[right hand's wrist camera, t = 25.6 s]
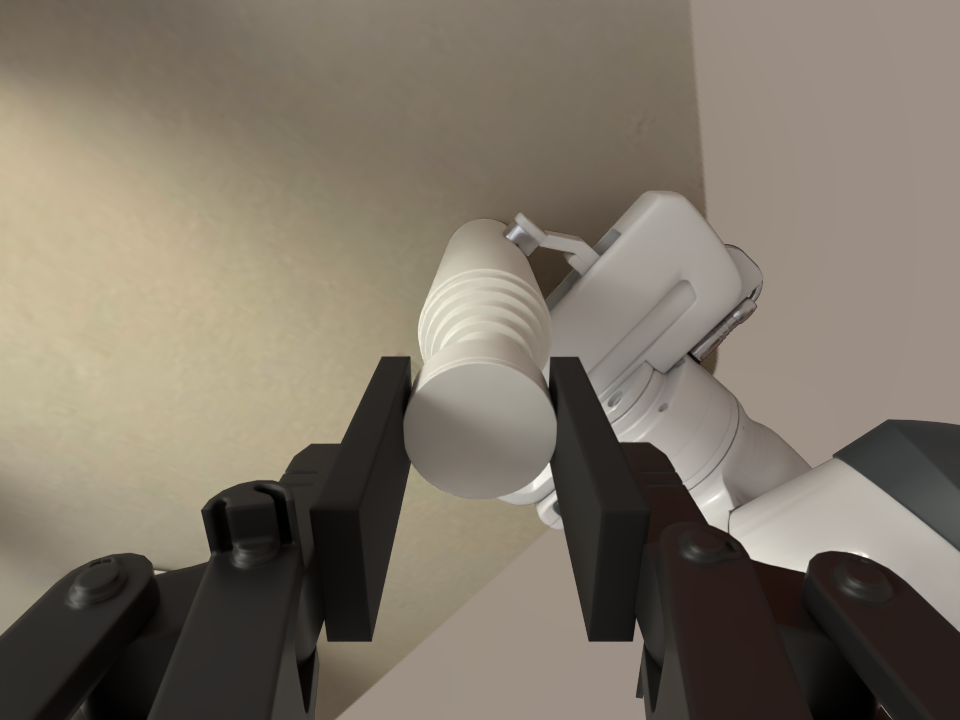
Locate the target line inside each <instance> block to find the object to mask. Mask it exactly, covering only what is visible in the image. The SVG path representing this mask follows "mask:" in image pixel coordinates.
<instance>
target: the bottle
mask: <svg viewBox="0 0 960 720" xmlns="http://www.w3.org/2000/svg"><path fill="white" fill-rule="evenodd" d="M506 228H507V225H505V224H503V223H501V222H499V221H496V220H493V219H476V220H472V221H470V222H467V223H466V224H464V225H462V226H461V227H460V228H459V229H458V230H457V231H456V232H455V233H454V234H453V235H452V237H451V239H450V240H449V243H448V245H447V248H446V251H445V253H444V256H443V258H442V261H441V263H440V266H439V269H438V271H437V274H436V276H435V279H434V281H433V284H432V286H431V289H430V292H429V294H428V297H427V299H426V302H425V304H424V307H423V310H422V312H421V315H420V319H419V326H418V340H419V345H420V351H421V355H422V358H423V361H424V363H426V362H427V361H428V360H429V359H430V358H431V357H432V356H433V355H434V354H436V353H437V352H439V351H440V350H442V349H443V348H445V347H448V346H450V345H452V344H455V343H458V342H461V341H466V340H473V339H488V340H494V341H499V342H503V343H506V344H509V345H511V346H513V347H515V348H517V349H519V350H520V351H522V352H523V353H525V354H526V355H527V356H528V357H530V358H531V359H532V360H533V361H534V363H535V364H536V365H537V366H538V367H539V369H540V370H541V372H542V370H543V369H544V367H545V365H546V363H547V360H548V357H549V354H550V349H551V343H552V332H553V330H552V321H551V317H550V313H549V311H548V308H547V305H546V303H545V301H544V298H543V296H542V293H541V291H540V289H539V286H538V284H537V281H536V279H535V277H534V274H533V272H532V269H531V267H530V265H529V262H528V260H527V257H526V255H525V254H524V253H523V252H522V251H521V250H520V249H519V247H518V245H517V244H514V243H512V242H511V241H509V240H508V239H507V238H506V237H505V236H504V235H503V231H504V230H505V229H506Z"/></svg>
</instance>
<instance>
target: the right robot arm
mask: <svg viewBox="0 0 960 720" xmlns="http://www.w3.org/2000/svg"><path fill="white" fill-rule="evenodd" d="M411 390H412V382H411V362H410V357H381V360H380V362H379V364H378V366H377V368H376V370H375V372H374V374H373V376H372V379H371V381H370V383H369V385H368V387H367V389H366V391H365V393H364V395H363V398H362V400H361V402H360V404H359V406H358V408H357V410H356V412H355V414H354V417H353V419H352V421H351V423H350V425H349V427H348V429H347V431H346V433H345V436H344V438H343V440H342V442H341V444H310V445H309V446H308V447H306V448H305V449H304V450H302V451H301V452H300V453H298V454H297V455H295V456H294V458H293V459H292V461H291V463H290V464H289V466H288V468H287V469H286V471H285V474H283V476H282V478H281V479H280V481H279V482H277V481H273V480H256V481H251V482H246V483H241V484H238V485H235V486H233V487H231V488H228V489H226V490H223V491H222V492H220V493H219V494H217V495H216V496H214V497H213V498H211V499H210V500H209V501H208V502H207V504H206V505H205V506H204V507H203V509H202V510H201V512H202V517H203V521H204V525H205V530H206V534H207V538H208V543H209V547H210V551H211V557H210V560H209V561H208V562H206V563H202V564H199V565H195V566H192V567H188V568H183V569H179V570H174V571H170V572H165V573H161V574H156V575H155V573H154V569H153V565H152V563H151V562H150V561H149V560H148V559H147V558H146V557H145V556H143V555H138V554H134V553H123V554H112V555H109V556H106V557H102V558H99V559H96V560H93V561H90V562H88V563H86V564H84V565H82V566H80V567H78V568H76V569H74V570H72V571H71V572H70V573H68V574H67V575H66V576H65V577H63V578H62V579H61V580H59V581H58V582H57V583H55V584H54V585H53V586H52V587H51V588H50V589H49V590H48V591H47V592H46V593H45V594H44V595H43V596H42V597H41V598H40V599H39V600H38V601H37V602H36V603H34V604H33V605H32V606H31V607H30V608H29V609H28V610H27V611H26V612H25V613H24V614H23V615H22V616H21V617H20V618H19V619H18V620H17V621H16V622H15V623H14V624H12V625H11V626H10V627H9V628H8V629H7V630H6V631H5V632H4V633H3V634H2V635H1V636H0V720H314V714H315V704H316V694H317V684H318V673H319V659H318V652H317V645H316V643H317V640H318V637H319V634H320V631H321V628H322V625H323V622H324V620H325V627H326V634H327V641H328V642H372V637H373V633H374V628H375V624H376V619H377V615H378V610H379V606H380V601H381V596H382V592H383V587H384V583H385V578H386V574H387V569H388V565H389V560H390V556H391V551H392V546H393V542H394V537H395V533H396V528H397V524H398V519H399V515H400V510H401V506H402V501H403V497H404V492H405V487H406V483H407V478H408V474H409V469H410V465H411V461H410V459H409V457H408V455H407V452H406V449H405V444H404V428H403V419H404V414H405V411H406V407H407V404H408V400H409V397H410V393H411ZM549 392H550V395H551V399H552V402H553V406H554V409H555V413H556V417H557V434H556V447H555V451H554V453H553V456H552V458H551V460H550V461H549V463H550V468H551V472H552V477H553V481H554V486H555V490H556V495H557V499H558V504H559V509H560V513H561V518H562V522H563V527H564V531H565V536H566V540H567V545H568V549H569V554H570V559H571V563H572V568H573V572H574V577H575V581H576V586H577V590H578V595H579V599H580V604H581V608H582V613H583V618H584V622H585V627H586V631H587V635H588V640H589V642H594V641H596V642H632V641H633V637H634V629H635V622H636V618H637V621H638V624H639V627H640V630H641V633H642V636H643V639H644V645H643V652H642V659H641V665H640V672H639V678H638V685H637V692H636V698H643V694H644V703H645V713H646V720H892V719H893V720H960V632H959V631H958V630H957V629H956V628H955V627H954V626H953V625H952V624H951V623H950V622H948V621H947V620H946V619H945V618H944V617H943V616H942V615H941V614H940V613H939V612H938V611H937V610H936V609H935V608H934V607H933V606H932V605H931V604H930V603H928V602H927V601H926V600H925V599H924V598H923V597H922V596H921V595H920V594H919V593H918V592H917V591H916V590H915V589H914V588H913V587H912V586H911V585H909V584H908V583H907V582H906V581H905V580H904V579H902V578H901V577H900V576H899V575H897V574H896V573H895V572H893V571H892V570H891V569H889V568H887V567H885V566H883V565H881V564H879V563H877V562H875V561H873V560H871V559H869V558H866V557H863V556H860V555H857V554H853V553H850V552H841V551H826V552H822V553H817V554H816V555H815V556H814V557H813V558H812V559H811V560H809V564H808V567H807V571H806V573H805V572H801V571H796V570H792V569H787V568H783V567H778V566H774V565H769V564H766V563H762V562H759V561H756V560H753V559H751V558H750V556H749V554H748V553H747V551H746V550H745V548H744V547H743V545H742V544H741V543H740V542H739V541H738V540H737V539H735V538H734V537H733V536H732V535H730V534H729V533H727V532H725V531H723V530H721V529H719V528H716V527H714V526H712V525H709V524H708V522H707V521H706V519H705V517H704V516H703V514H702V512H701V511H700V509H699V507H698V506H697V504H696V503H695V501H694V499H693V498H692V496H691V494H690V493H689V491H688V489H687V488H686V486H685V485H683V481H682V480H681V478H680V476H679V475H678V473H677V472H675V468H674V466H673V465H672V463H671V462H670V460H669V458H668V457H667V455H666V454H665V453H663V452H662V451H661V450H659V449H658V448H657V447H655V446H654V445H652V444H651V443H650V442H619V441H618V439H617V437H616V435H615V433H614V431H613V428H612V426H611V424H610V422H609V420H608V418H607V416H606V414H605V412H604V409H603V407H602V405H601V403H600V401H599V399H598V397H597V395H596V393H595V390H594V388H593V386H592V384H591V382H590V380H589V378H588V376H587V374H586V371H585V369H584V367H583V365H582V363H581V361H580V359H579V357H550V370H549ZM881 705H882V706H883V707H884V709H885V710H886V711H887V713H888V714H889V715H890V716H891V718H892V719H891V718H890V717H889V716H888V714H887V713H886V712H885V710H884V709H883V708H882V707H881ZM79 708H80V709H79ZM78 709H79V710H78ZM77 710H78V711H77ZM76 712H77V713H76ZM75 713H76V714H75ZM74 714H75V715H74ZM73 716H74V717H73ZM72 717H73V718H72ZM71 718H72V719H71Z"/></svg>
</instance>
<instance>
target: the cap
mask: <svg viewBox="0 0 960 720" xmlns="http://www.w3.org/2000/svg"><path fill="white" fill-rule="evenodd" d="M403 428H404V444H405V449H406V452H407V455H408V457H409V459H410V461H411V462H412V464H413V466H414V467H415V469H416V470H417V471H418V472H419V473H420V474H421V476H423V477H424V478H425V479H426V480H427V481H428V482H429V483H431V484H432V485H434V486H435V487H437V488H439V489H441V490H442V491H444V492H447V493H449V494H452V495H455V496H459V497H463V498H469V499H491V498H497V497H502V496H505V495H509V494H511V493H513V492H516V491H518V490H520V489H522V488H523V487H525V486H527V485H528V484H530V483H531V482H532V481H534V480H535V479H536V478H537V477H538V476H539V475H540V474H541V473H542V471H543V470H544V469H545V468H546V466H547V465H548V463H549V461H550V460H551V458H552V456H553V453H554V451H555V447H556V434H557V417H556V413H555V409H554V406H553V402H552V399H551V395H550V392H549V388H548V385H547V382H546V380H545V378H544V376H543V374H542V372H541V370H540V369H539V367H538V366H537V365H536V364H535V363H534V361H533V360H532V359H531V358H530V357H528V356H527V355H526V354H525V353H523V352H522V351H520V350H519V349H517V348H515V347H513V346H511V345H509V344H506V343H503V342H499V341H494V340H488V339H473V340H466V341H461V342H458V343H455V344H452V345H450V346H448V347H445V348H443V349H442V350H440V351H439V352H437V353H436V354H434V355H433V356H432V357H431V358H430V359H429V360H428V361H427V362H426V363H425V364H424V365H423V366H422V368H421V369H420V371H419V372H418V374H417V376H416V378H415V380H414V383H413V387H412V390H411V393H410V397H409V400H408V404H407V407H406V411H405V414H404V419H403Z"/></svg>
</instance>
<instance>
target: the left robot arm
mask: <svg viewBox="0 0 960 720" xmlns="http://www.w3.org/2000/svg"><path fill="white" fill-rule="evenodd" d="M503 235H504V236H505V237H506V238H507V239H508V240H509V241H511V242H512V243H514V244H517V245H518V247H519V249H520V250H521V251H522V252H523V253H524V254H525V255H527V256H528V257H529V256H530V254H531V253H532V252H533V251H534V250H535V249H536V248H537V247H538V246H540V247H545V248H550V249H555V250H560V251H565V252H564V253H563V257H564V258H565V259H566V261H567V262H568V263H569V264H570V265H571V266H572V267H573V268H574V269H573V270H572V271H571V272H570V273H569V274H568V275H567V276H566V278H565V279H564V280H563V281H562V282H561V283H560V284H559V285H558V286H557V287H556V288H555V290H554V291H553V292H552V293H551V294H550V295H549V296H548V297H547V298H546V299H545V300H544V301H545V303H546V305H547V308H548V311H549V313H550V317H551V321H552V330H553V332H552V343H551V349H550V354H549V357H548V360H547V363H546V365H545V367H544V369H543V370H542V374H543V376H544V378H545V380H546V382H547V385H548V388H549V370H550V357H579V359H580V361H581V363H582V365H583V367H584V369H585V371H586V374H587V376H588V378H589V380H590V382H591V384H592V386H593V388H594V390H595V393H596V395H597V397H598V399H599V401H600V403H601V405H602V407H603V409H604V412H605V414H606V416H607V418H608V420H609V422H610V424H611V426H612V428H613V431H614V433H615V435H616V437H617V439H618V441H619V442H650V443H651V444H652V445H654V446H655V447H657V448H658V449H659V450H661V451H662V452H663V453H665V454H666V455H667V457H668V458H669V460H670V462H671V463H672V465H673V466H674V468H675V472H677V473H678V475H679V476H680V478H681V480H682V481H683V485H685V486H686V488H687V489H688V491H689V493H690V494H691V496H692V498H693V499H694V501H695V503H696V504H697V506H698V507H699V509H700V511H701V512H702V514H703V516H704V517H705V519H706V521H707V522H708V524H709V525H712V526H714V527H716V528H719V529H721V530H723V531H725V532H727V533H729V534H730V535H732V536H733V537H734V538H735V539H737V540H738V541H739V542H740V543H741V544H742V545H743V547H744V548H745V550H746V551H747V553H748V554H749V556H750V558H751V559H753V560H756V561H759V562H762V563H766V564H769V565H774V566H778V567H783V568H787V569H792V570H796V571H801V572H805V573H806V571H807V567H808V564H809V560H811V559H812V558H813V557H814V556H815V555H816V554H817V553H822V552H826V551H841V552H850V553H853V554H857V555H860V556H863V557H866V558H869V559H871V560H873V561H875V562H877V563H879V564H881V565H883V566H885V567H887V568H889V569H891V570H892V571H893V572H895V573H896V574H897V575H899V576H900V577H901V578H902V579H904V580H905V581H906V582H907V583H908V584H909V585H911V586H912V587H913V588H914V589H915V590H916V591H917V592H918V593H919V594H920V595H921V596H922V597H923V598H924V599H925V600H926V601H927V602H928V603H930V604H931V605H932V606H933V607H934V608H935V609H936V610H937V611H938V612H939V613H940V614H941V615H942V616H943V617H944V618H945V619H946V620H947V621H948V622H950V623H951V624H952V625H953V626H954V627H955V628H956V629H957V630H958V631H959V632H960V425H955V424H948V423H940V422H929V421H916V420H886V421H885V422H883V423H882V424H880V425H879V426H877V427H876V428H874V429H872V430H871V431H869V432H868V433H866V434H865V435H863V436H862V437H860V438H858V439H857V440H855V441H854V442H852V443H851V444H849V445H847V446H846V447H844V448H843V449H841V450H840V451H838V452H836V453H835V454H833V458H832V459H830V460H829V461H827V462H825V463H823V464H821V465H819V466H817V467H815V468H813V469H812V468H811V467H810V466H809V464H808V463H807V462H806V461H805V460H804V459H803V458H802V457H801V456H800V455H799V454H798V453H797V452H796V451H795V450H794V449H793V448H792V447H791V446H790V445H788V444H787V443H786V442H785V441H784V440H783V439H782V438H781V437H780V436H779V435H778V434H776V433H775V432H774V431H772V430H771V429H769V428H768V427H766V426H764V425H762V424H760V423H757V422H755V421H753V420H751V419H750V418H749V417H748V416H747V415H746V413H745V411H744V409H743V407H742V405H741V404H740V402H739V401H738V400H737V398H736V397H735V396H734V395H733V394H732V393H731V392H730V391H729V390H728V389H727V388H725V387H724V386H723V385H722V384H721V383H720V382H719V381H718V380H717V379H715V378H714V377H713V376H712V375H711V374H710V373H709V372H708V371H707V370H705V369H704V368H703V367H702V366H701V364H700V363H701V362H702V361H703V360H704V359H705V358H706V357H707V356H708V355H709V354H710V353H711V352H712V351H713V350H714V349H716V348H717V347H718V346H719V345H720V344H721V342H722V341H723V340H724V339H725V338H726V336H727V335H728V334H729V332H731V331H732V330H733V329H734V328H735V327H736V326H737V325H739V324H741V323H743V322H744V321H745V320H747V319H748V318H749V317H750V316H751V315H752V313H753V312H754V311H755V309H756V308H757V305H756V304H755V303H754V302H755V301H756V300H757V298H758V297H759V295H760V292H761V289H762V283H763V276H762V273H761V271H760V269H759V267H758V266H757V265H756V264H755V263H754V262H753V261H752V260H751V259H750V258H749V257H748V256H747V255H746V254H745V253H744V252H743V251H742V250H741V249H740V248H738V247H736V246H733V245H729V244H724V243H723V242H722V241H721V239H720V238H719V236H718V235H717V234H716V232H715V231H714V229H713V228H712V227H711V226H710V224H709V223H708V222H707V221H706V219H705V218H704V217H703V216H702V214H701V213H700V212H699V211H698V210H697V209H696V208H695V206H694V205H693V204H692V203H691V202H690V201H689V200H688V199H687V198H686V197H684V196H683V195H681V194H679V193H677V192H674V191H668V190H655V191H647V192H645V193H643V194H642V195H641V196H640V197H639V198H638V199H637V200H636V201H635V202H634V203H633V204H632V206H631V207H630V208H629V209H628V210H627V211H626V212H625V213H624V214H623V215H622V216H621V218H620V219H619V220H618V221H617V222H616V223H615V224H614V225H613V226H612V227H611V228H610V230H609V231H608V232H607V233H606V234H605V235H604V236H603V237H602V238H601V239H600V240H599V242H598V243H597V244H596V245H595V246H594V247H593V248H591V247H590V246H589V245H587V244H586V243H585V242H584V241H583V240H582V239H581V238H579V237H578V236H574V235H568V234H563V233H557V232H552V231H546V230H545V231H544V232H543V231H542V230H541V229H540V228H538V227H537V226H536V225H535V224H534V223H533V222H532V221H531V220H530V219H528V218H527V217H526V216H525V215H524V214H523V213H521V212H519V213H518V214H517V216H516V217H515V218H514V219H513V220H512V221H511V223H510V224H509V225H508V226H507V228H506V229H505V230H504V231H503ZM751 292H752V294H751V295H750V297H749V298H748V297H747V296H748V295H749V294H750V293H751ZM497 499H499V500H501V501H503V502H506V503H509V504H513V505H529V504H533V503H535V506H536V509H537V512H538V515H539V518H540V519H541V520H542V521H543V522H544V523H545V524H546V525H547V526H549V527H550V528H552V529H555V530H563V529H564V527H563V522H562V518H561V513H560V509H559V504H558V499H557V495H556V490H555V486H554V481H553V477H552V472H551V468H550V463H548V465H547V466H546V468H545V469H544V470H543V471H542V473H541V474H540V475H539V476H538V477H537V478H536V479H535V480H534V481H532V482H531V483H530V484H528V485H527V486H525V487H523V488H522V489H520V490H518V491H516V492H513V493H511V494H509V495H505V496H502V497H497ZM154 573H155V575H156V574H161V573H165V571H158V570H154ZM79 709H80V708H79ZM79 709H78V710H79ZM78 710H77V711H78ZM76 713H77V712H76ZM76 713H75V714H76ZM75 714H74V715H75ZM73 717H74V716H73ZM73 717H72V718H73ZM72 718H71V719H72Z"/></svg>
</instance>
